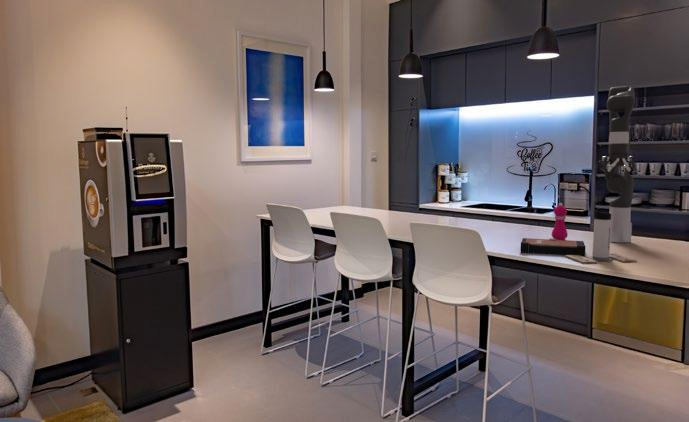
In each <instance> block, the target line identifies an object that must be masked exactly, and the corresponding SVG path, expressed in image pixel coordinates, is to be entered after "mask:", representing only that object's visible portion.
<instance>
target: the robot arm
mask: <svg viewBox="0 0 689 422" xmlns="http://www.w3.org/2000/svg"><path fill="white" fill-rule="evenodd" d="M635 97H636V91H635V87H633V86H631V85H623V86H613V87H610V88H609V90H608V99H607V101H606V109H607V111H608V113H609V117H608V118H609V128H608V156H606V155H605V156H601V158H600V159H601V160H600V171H603V172H604V180H605V181H606V188H607V190H608V191H609V193H614V194H620V196H619V197H618V198H615V199H613V200H610V201H609V212H608V213H609V214H610V213H611V233H610V243H611V242H612V243H620V244H623V243H626V244H628V243H630V242H632V233H633V232H632V231H633V230H632V229H633V223H632V222H631V211H632V210H631V209H632V203H633V196H634V189H635V179H634V177H633V175H631V171H634V170H635V166H636V165H635V155H629V156H628V153H629V150H630V147H631V132H630V130H629V129H630V128H629V127H630V120H631V119H630V118H631V116H632V115H631V114H632V112H633V110H634V107H635V104H636V99H635ZM619 113H624V114H623V115H622V116H620V115H619ZM620 167H621V168H623V170H624V172H623V174H619V173H620V172H619V171H620Z"/></svg>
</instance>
